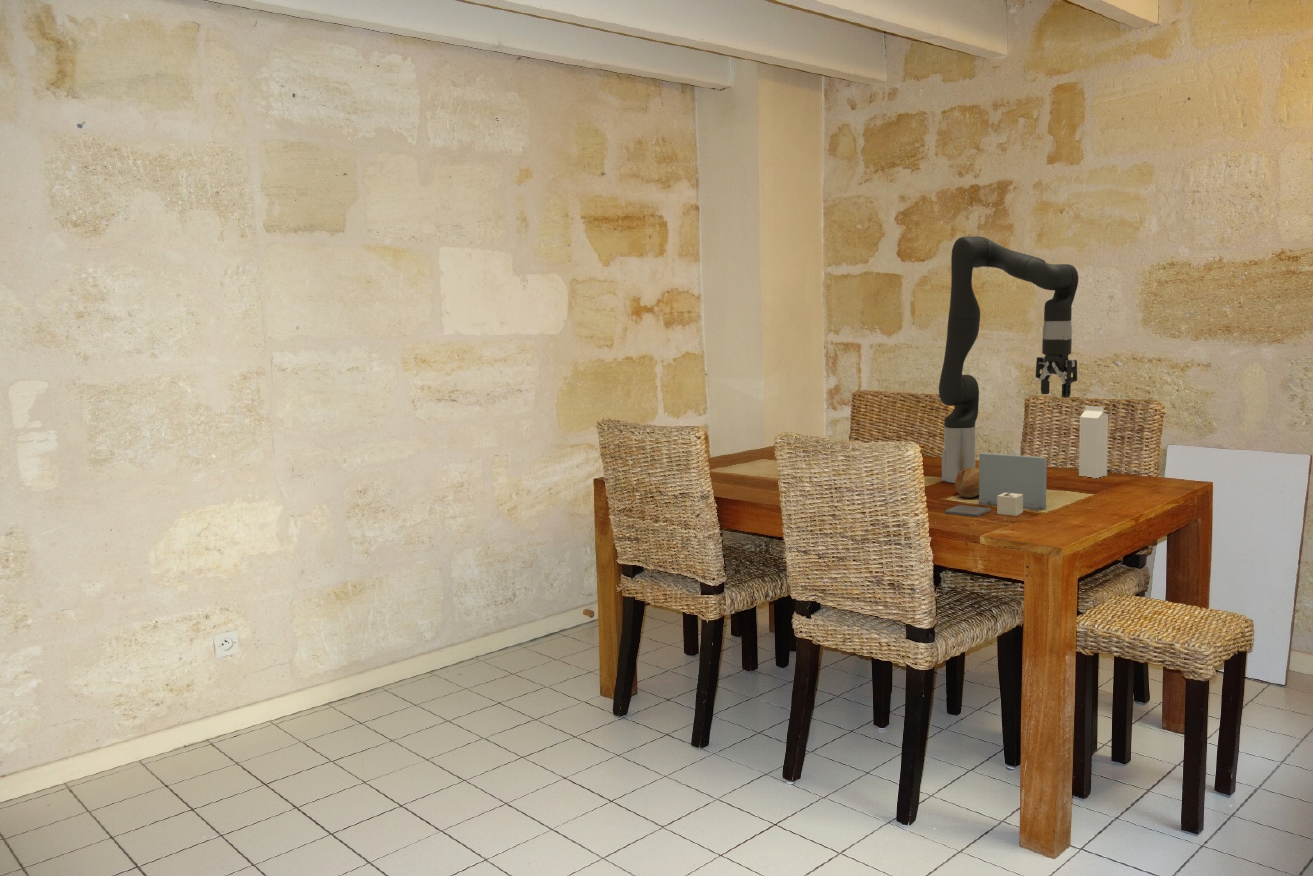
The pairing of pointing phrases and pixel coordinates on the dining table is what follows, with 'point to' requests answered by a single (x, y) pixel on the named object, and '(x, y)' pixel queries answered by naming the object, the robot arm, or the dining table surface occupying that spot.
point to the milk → (1093, 442)
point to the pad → (968, 510)
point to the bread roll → (968, 482)
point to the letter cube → (1010, 504)
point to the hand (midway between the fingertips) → (1055, 395)
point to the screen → (1013, 478)
